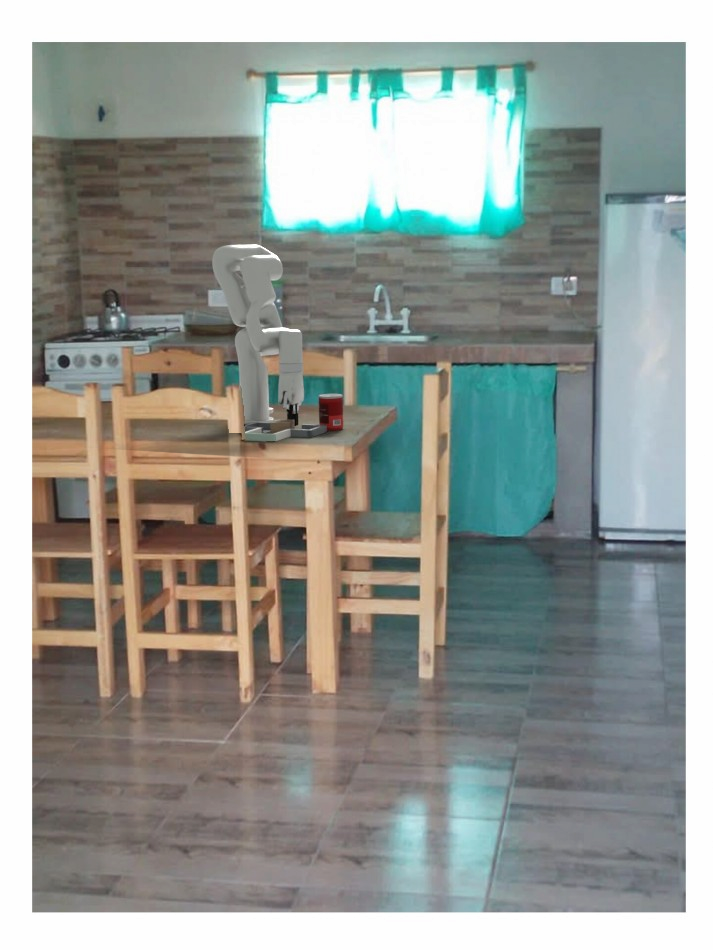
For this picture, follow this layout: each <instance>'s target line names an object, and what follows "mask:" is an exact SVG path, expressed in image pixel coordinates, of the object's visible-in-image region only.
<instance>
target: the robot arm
mask: <svg viewBox="0 0 713 950" xmlns="http://www.w3.org/2000/svg"><path fill="white" fill-rule="evenodd" d="M211 261H212V270H213V274H214V277H215V279H216V281H217V283H218V284H219V286H220V289H221V290H222V293H223V296H224V299H225V302H226V305H227V308H228V313H229V315H230V319H232V323H233V324H234V325H236V326H237V327H245V328H242V329H240V330H239V331H238V332H236V335H235V337H234V345H235V350H236V355H237V361H238V377H239V379H238V380H239V387H240V386H241V388H242V398H243V405H244V416H245V424H244V425H247V424H251V423H254V422H272V421H274V420H275V418H274V417H272V416H270V414H273V413H274V408H273V407H270V403H269V402H270V401H269V399H270V397H269V396H270V395H269V372H268V367H267V365H266V362H265V361H264V359H263V358H262V357H263V356H273V355H278V364H279V365H278V367H279V368H278V369H279V376H278V395H277V397H278V398H277V399H278V400H277V401H278V404H279V405H282V408H283V409H284V410H285V411H286V420H295V427H297V426H299V412H300V409H299V408H300V406H301V405H302V402H304V399H305V388H304V385H305V384H304V378H303V376H304V375H303V373H304V361H303V360H304V358H303V333H302V331H301V330H299V329H295V328H294V329H290V328H288V327H283V324H282V321H281V317H280V314H279V312H278V309H277V305H276V304H275V301H276V299H277V294H276V292H275V289H274V286H273V283H272V281H278V280H280V279H281V278H282V276H283V273H284V272H283V271H284V267H283V263H282V261H281V260H280V258H279V257H278V255H276V254H274V253H273V252H271V251H270V250H268V249H266V248H265V247H263V246H261V245H259V244H229V245H228V244H227V245H222V246H220V247H218V248H217V249H215V251H214V252H213V256H212V260H211ZM237 271H240V274H241V275H240V274H238V273H237Z"/></svg>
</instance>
